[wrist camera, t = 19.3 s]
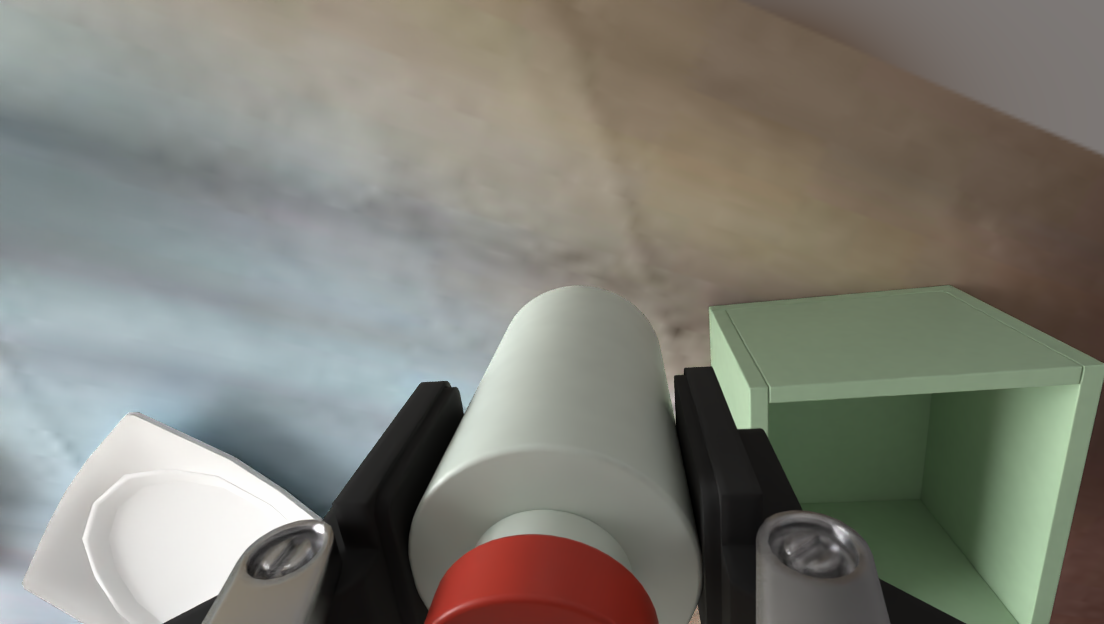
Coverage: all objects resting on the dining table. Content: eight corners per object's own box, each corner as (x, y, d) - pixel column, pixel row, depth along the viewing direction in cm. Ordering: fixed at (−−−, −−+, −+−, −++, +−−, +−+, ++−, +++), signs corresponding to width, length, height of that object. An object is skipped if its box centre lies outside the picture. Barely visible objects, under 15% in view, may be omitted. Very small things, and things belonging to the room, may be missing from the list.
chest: (708, 306, 32) (748, 388, 22) (950, 284, 30) (1107, 364, 20) (716, 507, 37) (753, 646, 27) (926, 500, 35) (1044, 647, 25)
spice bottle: (504, 277, 14) (338, 521, 6) (671, 292, 14) (766, 576, 5) (499, 421, 16) (362, 786, 7) (650, 437, 16) (697, 843, 7)
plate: (275, 712, 50) (257, 744, 47) (36, 560, 46) (2, 585, 44) (427, 570, 42) (415, 599, 39) (152, 372, 38) (119, 390, 36)
